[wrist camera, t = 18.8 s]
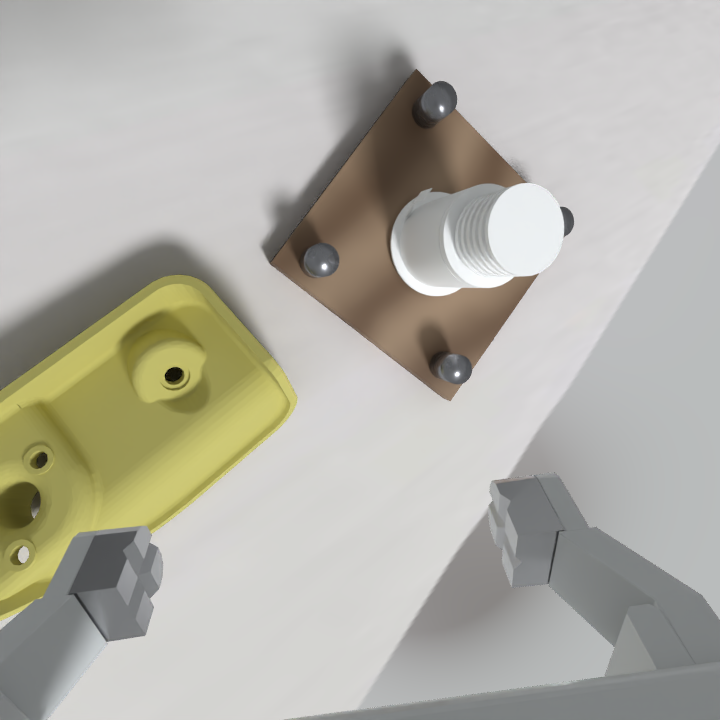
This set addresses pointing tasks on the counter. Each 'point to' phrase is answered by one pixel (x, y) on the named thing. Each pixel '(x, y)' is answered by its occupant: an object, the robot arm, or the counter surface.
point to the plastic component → (129, 425)
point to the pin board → (373, 234)
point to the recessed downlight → (476, 237)
